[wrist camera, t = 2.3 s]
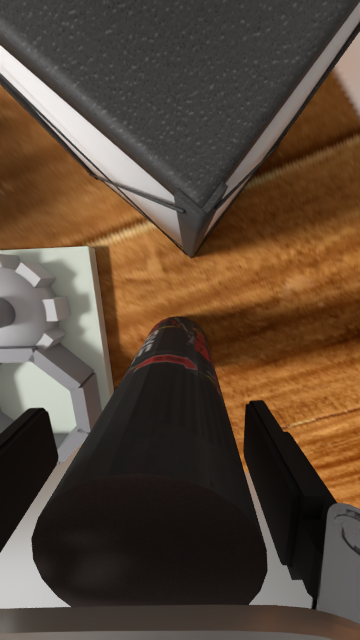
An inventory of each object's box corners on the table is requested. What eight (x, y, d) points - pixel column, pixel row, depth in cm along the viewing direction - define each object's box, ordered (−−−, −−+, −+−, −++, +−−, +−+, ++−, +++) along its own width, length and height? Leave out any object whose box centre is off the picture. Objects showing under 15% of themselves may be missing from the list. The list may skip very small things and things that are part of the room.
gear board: (94, 248, 17) (61, 239, 13) (119, 433, 22) (101, 476, 18) (-54, 254, 18) (-137, 248, 13) (1, 434, 23) (-46, 475, 18)
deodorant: (187, 382, 20) (189, 656, 6) (137, 355, 20) (1, 584, 5) (218, 335, 19) (320, 542, 5) (165, 305, 19) (86, 429, 4)
